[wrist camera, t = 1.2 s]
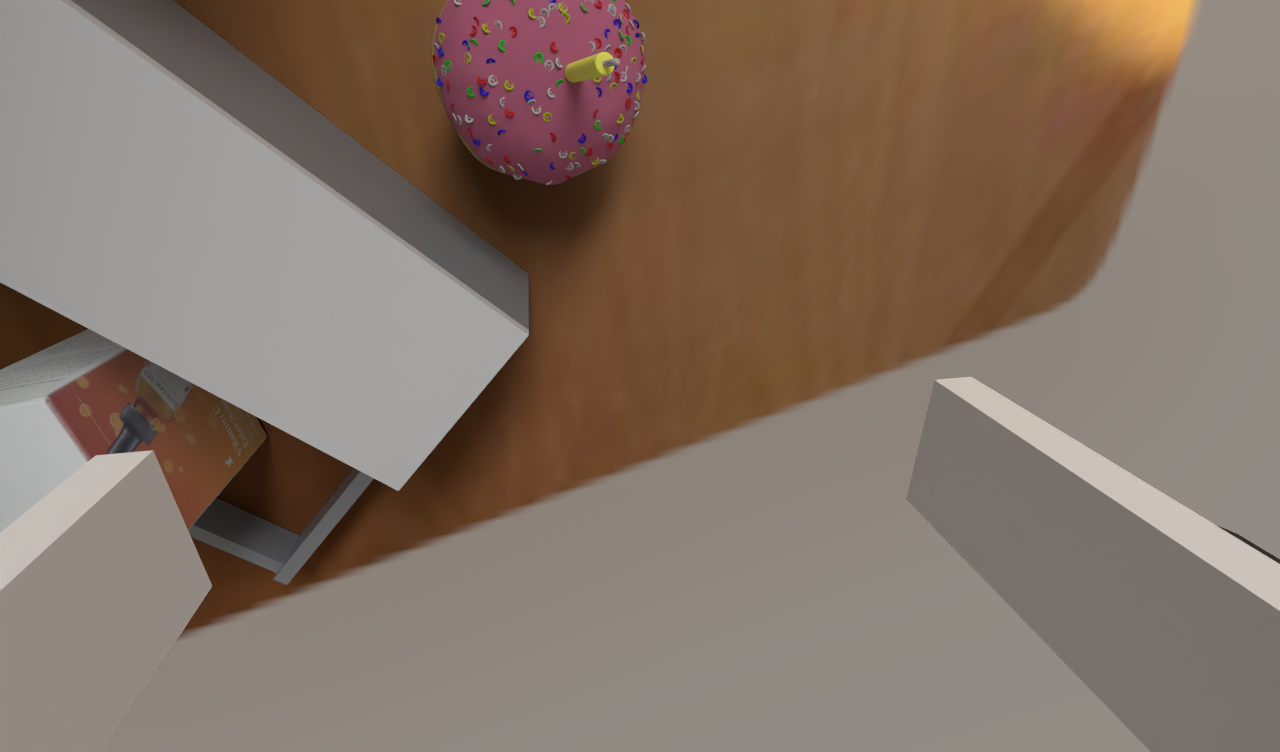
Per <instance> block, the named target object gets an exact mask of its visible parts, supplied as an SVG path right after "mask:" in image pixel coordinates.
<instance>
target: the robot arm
mask: <svg viewBox="0 0 1280 752" xmlns="http://www.w3.org/2000/svg"><path fill="white" fill-rule="evenodd" d="M906 499H907V500H908V502H909V503H910V504H911V505H912V506H914V508H915V509H916V510H917V511H918V512H919V513H920V514H921V515H922V516H923V517H924V518H925V519H926V520H927V521H928V522H929V523H930V524H931V525H932V526H933V527H934V528H935V529H936V530H937V532H939V534H940V535H942V537H943V538H944V539H945V540H946V541H947V542H948V543H949V544H950V545H951V546H952V547H953V548H954V549H955V550H956V551H957V552H958V553H959V554H960V555H961V556H962V557H963V558H964V559H965V560H966V561H967V562H968V564H970V566H971V567H972V568H973V569H974V570H975V571H976V572H977V573H978V574H979V575H980V576H981V577H982V578H983V579H984V580H985V581H986V582H987V583H988V584H989V585H990V586H991V587H992V588H993V589H994V590H995V591H996V592H997V593H998V594H999V595H1000V597H1001V598H1002V599H1004V601H1005V602H1006V603H1008V605H1009V606H1010V607H1011V608H1012V609H1013V610H1014V611H1015V612H1016V613H1017V614H1018V615H1019V616H1020V617H1021V618H1022V619H1023V620H1024V621H1025V622H1026V623H1027V624H1028V625H1029V627H1030V628H1031V629H1032V630H1033V631H1034V632H1035V633H1036V634H1037V635H1038V636H1039V637H1040V638H1041V639H1042V640H1043V641H1044V642H1045V643H1046V644H1047V645H1048V646H1049V647H1050V648H1051V649H1052V650H1053V651H1054V652H1055V653H1056V654H1057V655H1058V656H1059V658H1060V659H1062V661H1063V662H1064V663H1065V664H1066V665H1067V666H1068V667H1069V668H1071V670H1072V671H1073V672H1074V673H1075V674H1076V675H1077V676H1078V677H1079V678H1080V679H1081V680H1082V681H1083V682H1084V683H1085V684H1086V685H1087V686H1088V687H1089V688H1090V690H1091V691H1092V692H1093V693H1094V694H1096V695H1097V697H1098V698H1099V699H1100V700H1101V701H1102V702H1103V703H1104V704H1105V705H1106V706H1107V707H1108V708H1109V709H1110V710H1111V711H1112V712H1113V713H1114V714H1115V715H1116V716H1117V717H1118V718H1119V719H1120V720H1121V722H1123V724H1124V725H1125V726H1126V727H1127V728H1128V729H1129V730H1130V731H1131V732H1132V733H1133V734H1134V735H1135V736H1136V737H1137V738H1138V739H1139V740H1140V741H1141V742H1142V743H1143V744H1144V745H1145V746H1146V747H1147V748H1148V749H1149V750H1150V752H1280V559H1278V558H1276V557H1275V556H1273V555H1271V554H1270V553H1268V552H1266V551H1264V550H1263V549H1261V548H1260V547H1258V546H1256V545H1255V544H1253V543H1251V542H1250V541H1248V540H1246V539H1245V538H1243V537H1242V536H1240V535H1238V534H1236V533H1234V532H1231V531H1229V530H1227V529H1224V528H1222V527H1220V526H1217V525H1215V524H1213V523H1211V522H1210V521H1208V520H1206V519H1205V518H1203V517H1201V516H1200V515H1198V514H1196V513H1195V512H1193V511H1191V510H1190V509H1188V508H1187V507H1185V506H1183V505H1181V504H1180V503H1178V502H1177V501H1175V500H1173V499H1172V498H1170V497H1168V496H1167V495H1165V494H1163V493H1162V492H1160V491H1159V490H1157V489H1155V488H1154V487H1152V486H1150V485H1148V484H1147V483H1145V482H1144V481H1142V480H1140V479H1139V478H1137V477H1135V476H1134V475H1132V474H1131V473H1129V472H1127V471H1126V470H1124V469H1122V468H1121V467H1118V466H1117V465H1116V464H1114V463H1112V462H1111V461H1109V460H1107V459H1106V458H1104V457H1103V456H1101V455H1099V454H1098V453H1096V452H1094V451H1093V450H1091V449H1089V448H1087V447H1086V446H1084V445H1083V444H1081V443H1079V442H1078V441H1076V440H1074V439H1073V438H1071V437H1069V436H1068V435H1066V434H1065V433H1063V432H1061V431H1059V430H1058V429H1056V428H1055V427H1053V426H1051V425H1050V424H1048V423H1046V422H1045V421H1043V420H1041V419H1040V418H1038V417H1037V416H1035V415H1033V414H1031V413H1030V412H1028V411H1027V410H1025V409H1023V408H1022V407H1020V406H1018V405H1017V404H1015V403H1014V402H1012V401H1010V400H1009V399H1007V398H1005V397H1004V396H1002V395H1000V394H998V393H997V392H995V391H994V390H992V389H990V388H989V387H987V386H985V385H984V384H982V383H981V382H979V381H977V380H976V379H974V378H972V377H963V378H952V379H940V380H935V381H934V385H933V389H932V393H931V398H930V402H929V406H928V410H927V414H926V419H925V423H924V427H923V431H922V435H921V440H920V444H919V448H918V452H917V456H916V460H915V465H914V469H913V473H912V477H911V481H910V485H909V490H908V494H907V498H906ZM211 587H212V584H211V582H210V580H209V577H208V575H207V573H206V571H205V568H204V566H203V564H202V561H201V559H200V557H199V554H198V552H197V550H196V548H195V545H194V543H193V541H192V538H191V536H190V534H189V531H188V529H187V527H186V525H185V522H184V520H183V518H182V515H181V513H180V511H179V508H178V506H177V504H176V502H175V499H174V497H173V495H172V492H171V490H170V488H169V485H168V483H167V481H166V479H165V476H164V474H163V472H162V469H161V467H160V465H159V462H158V460H157V458H156V456H155V453H154V451H153V450H151V451H140V452H129V453H118V454H106V455H96V456H95V457H93V458H92V459H91V460H90V461H88V462H87V463H86V464H85V465H83V466H82V467H81V468H80V469H79V470H77V471H76V472H75V473H74V474H72V475H71V476H70V477H69V478H67V479H66V480H65V481H64V482H62V483H61V484H60V485H59V486H58V487H56V488H55V489H54V490H53V491H51V492H50V493H49V494H48V495H46V496H45V497H44V498H43V499H41V500H40V501H39V502H38V503H36V504H35V505H34V506H33V507H32V508H30V509H29V510H28V511H27V512H25V513H24V514H23V515H22V516H20V517H19V518H18V519H17V520H15V521H14V522H13V523H12V524H11V525H9V526H8V527H7V528H6V529H4V530H3V531H2V532H1V533H0V752H104V750H105V749H106V747H107V746H108V744H109V743H110V741H111V740H112V738H113V737H114V735H115V734H116V732H117V731H118V729H119V728H120V726H121V724H122V723H123V721H124V720H125V718H126V717H127V715H128V714H129V712H130V711H131V709H132V708H133V706H134V705H135V703H136V702H137V700H138V699H139V697H140V695H141V694H142V692H143V691H144V689H145V688H146V686H147V685H148V683H149V682H150V680H151V679H152V677H153V676H154V674H155V672H156V671H157V669H158V668H159V667H160V665H161V663H162V662H163V660H164V659H165V657H166V656H167V654H168V653H169V651H170V650H171V648H172V647H173V645H174V644H175V642H176V641H177V639H178V638H179V636H180V635H181V633H182V632H183V630H184V628H185V627H186V625H187V624H188V622H189V621H190V619H191V618H192V616H193V615H194V613H195V612H196V610H197V609H198V607H199V606H200V604H201V603H202V601H203V600H204V598H205V596H206V595H207V593H208V592H209V590H210V589H211Z"/></svg>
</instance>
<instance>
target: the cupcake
mask: <svg viewBox="0 0 1280 752" xmlns="http://www.w3.org/2000/svg"><path fill="white" fill-rule="evenodd" d="M644 41H645V35H644V33H643V32H640V29H639V23H638V22H637V21H636V19H635V17H634V15H633V13H632V11H631V8H630V6H629V5H628V4H627V3H626V2H625V1H624V0H447V2H446V4H445V6H444V7H443V9H442V11H441V13H440V15H439V17H438V18H437V19H436V25H435V29H434V33H433V39H432V54H431V63H432V73H433V78H434V82H435V86H436V89H437V92H438V95H439V97H440V99H441V102H442V104H443V106H444V108H445V110H446V112H447V114H448V116H449V118H450V120H451V122H452V124H453V126H454V128H455V130H456V131H457V133H458V135H459V137H460V139H461V140H462V142H463V143H464V145H465V146H466V147H467V149H468V150H469V151H470V152H471V153H472V154H473V156H474V157H475V158H477V159H478V160H479V161H480V162H481V163H482V164H484V165H485V166H487V167H489V168H491V169H493V170H495V171H498V172H501V173H505V174H508V175H511V176H513V177H514V178H515V179H516V180H520V179H521V178H522V179H526V180H530V181H534V182H537V183H541V184H546V185H556V184H560V183H563V182H565V181H567V180H569V179H571V178H572V177H575V176H577V175H579V174H581V173H583V172H585V171H587V170H590V169H592V168H595V167H597V166H599V165H601V164H605V163H606V162H607V160H609V159H610V158H611V157H612V156H613V155H614V154H615V152H616V151H617V150H618V149H619V147H620V146H621V144H622V143H623V141H625V139H626V137H627V135H628V134H629V132H630V130H631V128H632V126H633V124H634V121H635V118H636V116H637V114H638V113H639V112H638V109H639V106H640V101H641V96H642V91H643V86H644V83H646V82H647V77H646V75H645V66H646V65H645V49H644ZM644 79H645V80H644ZM517 177H518V178H517Z"/></svg>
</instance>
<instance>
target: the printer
mask: <svg viewBox="0 0 1280 752" xmlns="http://www.w3.org/2000/svg"><path fill="white" fill-rule="evenodd" d="M0 283H2V284H4V285H6V286H8V287H10V288H12V289H14V290H16V291H18V292H20V293H21V294H23V295H25V296H27V297H29V298H31V299H33V300H35V301H37V302H39V303H40V304H42V305H44V306H46V307H48V308H50V309H52V310H54V311H56V312H58V313H60V314H61V315H63V316H65V317H67V318H69V319H71V320H73V321H75V322H77V323H79V324H81V325H82V326H84V327H86V328H88V329H90V330H92V331H94V332H96V333H98V334H100V335H102V336H103V337H105V338H107V339H109V340H111V341H113V342H115V343H117V344H119V345H121V346H122V347H124V348H126V349H128V350H130V351H132V352H134V353H136V354H138V355H140V356H142V357H143V358H145V359H147V360H149V361H151V362H153V363H155V364H157V365H159V366H161V367H163V368H164V369H166V370H168V371H170V372H172V373H174V374H176V375H178V376H180V377H182V378H183V379H185V380H187V381H189V382H191V383H193V384H195V385H197V386H199V387H201V388H203V389H204V390H206V391H208V392H210V393H212V394H214V395H216V396H218V397H220V398H222V399H224V400H225V401H227V402H229V403H231V404H233V405H235V406H237V407H239V408H241V409H243V410H245V411H246V412H248V413H250V414H252V415H254V416H256V417H258V418H260V419H262V420H264V421H265V422H267V423H269V424H271V425H273V426H275V427H277V428H279V429H281V430H283V431H285V432H286V433H288V434H290V435H292V436H294V437H296V438H298V439H300V440H302V441H304V442H306V443H307V444H309V445H311V446H313V447H315V448H317V449H319V450H321V451H323V452H325V453H327V454H328V455H330V456H332V457H334V458H336V459H338V460H340V461H342V462H344V463H346V464H347V465H349V466H351V467H353V470H352V471H351V472H350V473H349V474H348V476H347V477H346V478H345V479H344V481H343V482H342V483H341V484H340V486H339V487H338V488H337V489H336V491H335V492H334V493H333V494H332V496H331V497H330V498H329V499H328V501H327V502H326V503H325V504H324V506H323V507H322V508H321V509H320V511H319V512H318V513H317V514H316V516H315V517H314V518H313V519H312V521H311V522H310V523H309V524H308V526H307V527H306V528H305V529H304V531H303V532H302V533H301V534H300V536H299V535H297V534H295V533H293V532H291V531H288V530H286V529H284V528H282V527H280V526H277V525H275V524H273V523H271V522H269V521H266V520H264V519H262V518H260V517H258V516H255V515H253V514H251V513H249V512H247V511H244V510H242V509H240V508H238V507H236V506H233V505H231V504H229V503H227V502H225V501H222V500H220V499H218V498H215V499H214V501H213V502H212V503H211V504H210V505H209V506H208V508H207V509H206V510H205V511H204V512H203V514H202V515H201V516H200V517H199V518H198V519H197V521H196V522H195V523H194V524H193V525H192V527H191V528H190V529H189V530H188V531H189V534H190V536H191V537H192V538H194V539H197V540H199V541H202V542H204V543H206V544H209V545H211V546H213V547H216V548H218V549H220V550H223V551H225V552H228V553H230V554H232V555H235V556H237V557H239V558H242V559H244V560H247V561H249V562H251V563H254V564H256V565H258V566H261V567H263V568H266V569H268V570H270V571H273V572H275V573H277V574H276V575H275V577H274V579H273V580H276V581H278V582H281V583H283V584H285V585H287V584H288V583H289V582H290V581H291V580H292V578H293V577H294V576H295V575H296V573H297V572H298V571H299V570H300V568H301V567H302V566H303V565H304V564H305V562H306V561H307V560H308V559H309V557H310V556H311V555H312V554H313V553H314V551H315V550H316V549H317V548H318V546H319V545H320V544H321V543H322V542H323V540H324V539H325V538H326V537H327V535H328V534H329V533H330V532H331V531H332V529H333V528H334V527H335V526H336V524H337V523H338V522H339V521H340V520H341V518H342V517H343V516H344V515H345V513H346V512H347V511H348V510H349V509H350V507H351V506H352V505H353V504H354V502H355V501H356V500H357V499H358V498H359V496H360V495H361V494H362V493H363V491H364V490H365V489H366V488H367V486H368V485H369V484H370V483H371V482H372V480H373V479H376V480H378V481H380V482H382V483H384V484H386V485H388V486H389V487H391V488H393V489H395V490H397V491H399V490H400V489H401V488H402V486H403V485H404V484H405V483H406V482H407V480H408V479H409V478H410V477H411V476H412V474H413V473H414V472H415V471H416V470H417V468H418V467H419V466H420V465H421V464H422V462H423V461H424V460H425V459H426V458H427V456H428V455H429V454H430V453H431V452H432V450H433V449H434V448H435V447H436V446H437V444H438V443H439V442H440V441H441V440H442V438H443V437H444V436H445V435H446V434H447V432H448V431H449V430H450V429H451V428H452V427H453V425H454V424H455V423H456V422H457V421H458V419H459V418H460V417H461V416H462V415H463V413H464V412H465V411H466V410H467V409H468V407H469V406H470V405H471V404H472V403H473V401H474V400H475V399H476V398H477V397H478V395H479V394H480V393H481V392H482V391H483V389H484V388H485V387H486V386H487V385H488V383H489V382H490V381H491V380H492V379H493V377H494V376H495V375H496V374H497V373H498V371H499V370H500V369H501V368H502V367H503V365H504V364H505V363H506V362H507V361H508V359H509V358H510V357H511V356H512V355H513V354H514V352H515V351H516V350H517V349H518V348H519V346H520V345H521V344H522V343H523V342H524V340H525V339H526V338H527V337H528V336H529V274H528V273H527V272H526V271H524V270H523V269H522V268H520V267H519V266H518V265H517V264H515V263H514V262H513V261H511V260H510V259H509V258H507V257H506V256H505V255H504V254H502V253H501V252H500V251H498V250H497V249H496V248H494V247H493V246H492V245H491V244H489V243H488V242H487V241H485V240H484V239H483V238H481V237H480V236H479V235H478V234H476V233H475V232H474V231H472V230H471V229H470V228H468V227H467V226H466V225H465V224H463V223H462V222H461V221H459V220H458V219H457V218H455V217H454V216H453V215H452V214H450V213H449V212H448V211H446V210H445V209H444V208H442V207H441V206H440V205H439V204H437V203H436V202H435V201H433V200H432V199H431V198H429V197H428V196H427V195H426V194H424V193H423V192H422V191H420V190H419V189H418V188H416V187H415V186H414V185H413V184H411V183H410V182H409V181H407V180H406V179H405V178H403V177H402V176H401V175H400V174H398V173H397V172H396V171H394V170H393V169H392V168H390V167H389V166H388V165H387V164H385V163H384V162H383V161H381V160H380V159H379V158H377V157H376V156H375V155H374V154H372V153H371V152H370V151H368V150H367V149H366V148H364V147H363V146H362V145H361V144H359V143H358V142H357V141H355V140H354V139H353V138H351V137H350V136H349V135H348V134H346V133H345V132H344V131H342V130H341V129H340V128H338V127H337V126H336V125H335V124H333V123H332V122H331V121H329V120H328V119H327V118H325V117H324V116H323V115H322V114H320V113H319V112H318V111H316V110H315V109H314V108H312V107H311V106H310V105H309V104H307V103H306V102H305V101H303V100H302V99H301V98H299V97H298V96H297V95H296V94H294V93H293V92H292V91H290V90H289V89H288V88H286V87H285V86H284V85H283V84H281V83H280V82H279V81H277V80H276V79H275V78H273V77H272V76H271V75H270V74H268V73H267V72H266V71H264V70H263V69H262V68H260V67H259V66H258V65H257V64H255V63H254V62H253V61H251V60H250V59H249V58H247V57H246V56H245V55H244V54H242V53H241V52H240V51H238V50H237V49H236V48H234V47H233V46H232V45H231V44H229V43H228V42H227V41H225V40H224V39H223V38H221V37H220V36H219V35H218V34H216V33H215V32H214V31H212V30H211V29H210V28H208V27H207V26H206V25H205V24H203V23H202V22H201V21H199V20H198V19H197V18H195V17H194V16H193V15H192V14H190V13H189V12H188V11H186V10H185V9H184V8H182V7H181V6H180V5H179V4H177V3H176V2H175V1H173V0H0Z"/></svg>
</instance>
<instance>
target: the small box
mask: <svg viewBox="0 0 1280 752" xmlns="http://www.w3.org/2000/svg"><path fill="white" fill-rule="evenodd" d="M266 438H267V435H266V433H265V431H264V430H263V428H262V426H261V424H260V423H259V421H258V419H257V418H256V416H254V415H252V414H250V413H248V412H246V411H245V410H243V409H241V408H239V407H237V406H235V405H233V404H231V403H229V402H227V401H225V400H224V399H222V398H220V397H218V396H216V395H214V394H212V393H210V392H208V391H206V390H204V389H203V388H201V387H199V386H197V385H195V384H193V383H191V382H189V381H187V380H185V379H183V378H182V377H180V376H178V375H176V374H174V373H172V372H170V371H168V370H166V369H164V368H163V367H161V366H159V365H157V364H155V363H153V362H151V361H149V360H147V359H145V358H143V357H142V356H140V355H138V354H136V353H134V352H132V351H130V350H128V349H126V348H124V347H122V346H121V345H119V344H117V343H115V342H113V341H111V340H109V339H107V338H105V337H103V336H102V335H100V334H98V333H96V332H94V331H92V330H90V329H87V330H84V331H82V332H80V333H78V334H76V335H74V336H72V337H70V338H68V339H65V340H63V341H61V342H59V343H57V344H55V345H52V346H50V347H48V348H46V349H44V350H42V351H40V352H38V353H35V354H33V355H31V356H29V357H27V358H25V359H23V360H20V361H18V362H16V363H14V364H12V365H10V366H7V367H5V368H3V369H1V370H0V533H1V532H2V531H3V530H4V529H6V528H7V527H8V526H9V525H11V524H12V523H13V522H14V521H15V520H17V519H18V518H19V517H20V516H22V515H23V514H24V513H25V512H27V511H28V510H29V509H30V508H32V507H33V506H34V505H35V504H36V503H38V502H39V501H40V500H41V499H43V498H44V497H45V496H46V495H48V494H49V493H50V492H51V491H53V490H54V489H55V488H56V487H58V486H59V485H60V484H61V483H62V482H64V481H65V480H66V479H67V478H69V477H70V476H71V475H72V474H74V473H75V472H76V471H77V470H79V469H80V468H81V467H82V466H83V465H85V464H86V463H87V462H88V461H90V460H91V459H92V458H93V457H95V456H96V455H106V454H118V453H129V452H140V451H151V450H153V451H154V453H155V456H156V458H157V460H158V462H159V465H160V467H161V469H162V472H163V474H164V476H165V479H166V481H167V483H168V485H169V488H170V490H171V492H172V495H173V497H174V499H175V502H176V504H177V506H178V508H179V511H180V513H181V515H182V518H183V520H184V522H185V525H186V527H187V529H188V530H189V529H190V528H191V527H192V525H193V524H194V523H195V522H196V521H197V519H198V518H199V517H200V516H201V515H202V514H203V512H204V511H205V510H206V509H207V508H208V506H209V505H210V504H211V503H212V502H213V501H214V499H215V498H216V497H217V496H218V495H219V494H220V492H221V491H222V490H223V489H224V488H225V487H226V485H227V484H228V483H229V482H230V481H231V480H232V478H233V477H234V476H235V475H236V474H237V473H238V471H239V470H240V469H241V468H242V467H243V465H244V464H245V463H246V462H247V461H248V460H249V458H250V457H251V456H252V455H253V454H254V452H255V451H256V450H257V449H258V448H259V447H260V445H261V444H262V443H263V442H264V441H265V440H266Z"/></svg>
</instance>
